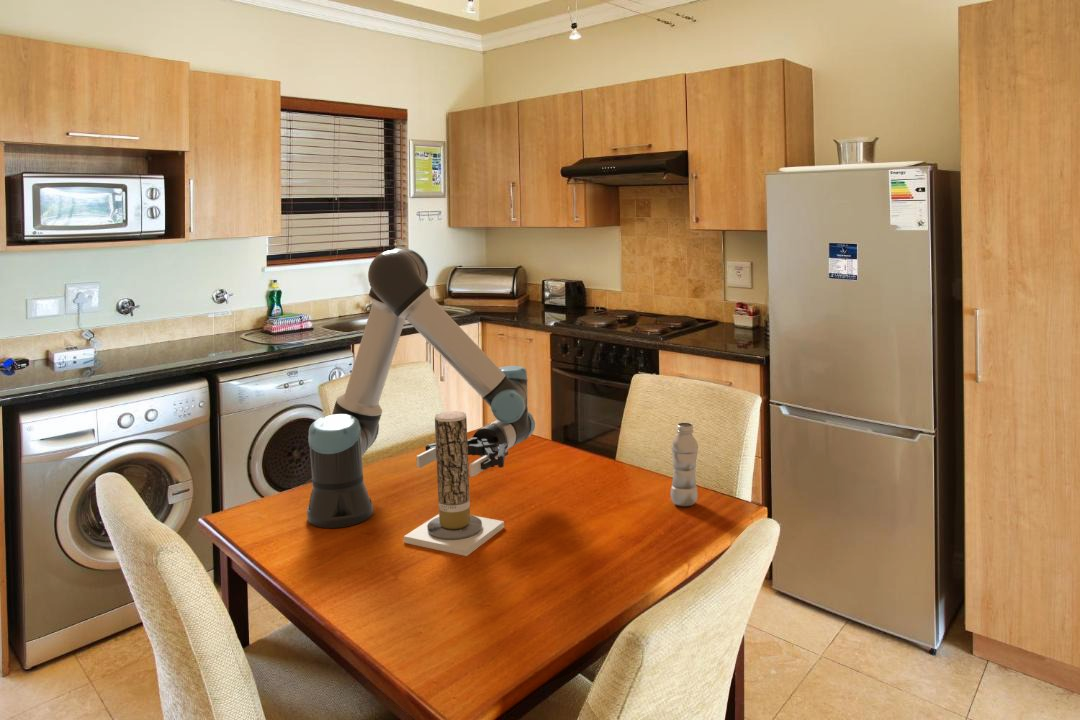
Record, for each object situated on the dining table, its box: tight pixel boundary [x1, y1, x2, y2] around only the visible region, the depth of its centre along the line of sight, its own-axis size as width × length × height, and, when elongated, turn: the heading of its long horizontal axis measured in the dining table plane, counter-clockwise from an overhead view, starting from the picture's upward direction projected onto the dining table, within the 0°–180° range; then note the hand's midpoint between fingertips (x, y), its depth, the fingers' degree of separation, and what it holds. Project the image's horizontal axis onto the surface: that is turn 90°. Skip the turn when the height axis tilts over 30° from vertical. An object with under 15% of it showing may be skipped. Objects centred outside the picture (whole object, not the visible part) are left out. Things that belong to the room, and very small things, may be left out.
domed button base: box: [403, 514, 505, 557], centre depth 169 cm, size 16×16×2 cm
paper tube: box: [434, 410, 471, 529], centre depth 167 cm, size 7×7×25 cm
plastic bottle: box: [670, 422, 699, 507], centre depth 183 cm, size 6×7×20 cm
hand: (443, 466), depth 163 cm, fingers open, 13 cm apart
